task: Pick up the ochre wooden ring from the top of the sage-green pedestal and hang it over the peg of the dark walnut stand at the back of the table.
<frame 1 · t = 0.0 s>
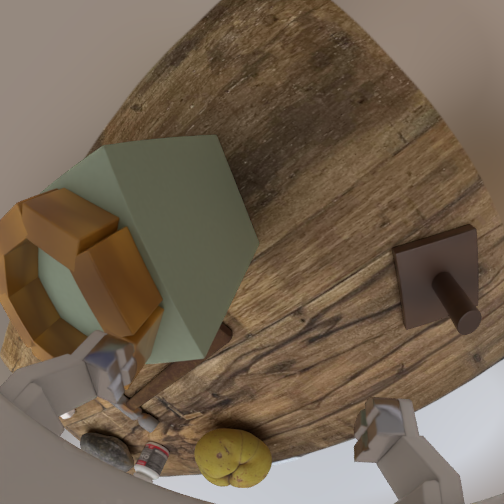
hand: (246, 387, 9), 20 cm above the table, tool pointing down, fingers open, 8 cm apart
fruit: (239, 432, 42), on the table
pedestal: (187, 208, 29), on the table
soap: (60, 398, 53), on the table
hammer: (162, 373, 39), on the table
pill bottle: (158, 447, 51), on the table
ring: (79, 286, 14), point 16 cm above the table, touching pedestal
stand: (437, 275, 26), on the table
stone: (113, 441, 56), on the table
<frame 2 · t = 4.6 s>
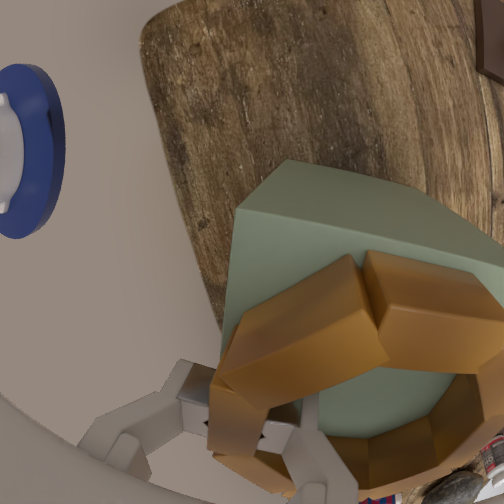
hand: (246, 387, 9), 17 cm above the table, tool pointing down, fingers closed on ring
pedestal: (340, 237, 24), on the table
soap: (379, 497, 42), on the table
pill bottle: (491, 441, 31), on the table
ring: (368, 387, 9), point 16 cm above the table, touching gripper, pedestal
cup: (377, 475, 38), on the table
stone: (450, 480, 38), on the table
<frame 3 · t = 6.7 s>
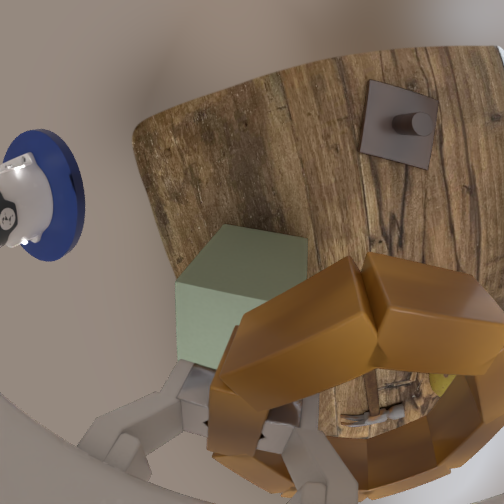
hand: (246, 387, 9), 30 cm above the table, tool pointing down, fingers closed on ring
fruit: (451, 349, 40), on the table
pedestal: (260, 268, 41), on the table
hammer: (365, 368, 45), on the table
ring: (367, 387, 9), point 29 cm above the table, touching gripper
stand: (397, 124, 30), on the table
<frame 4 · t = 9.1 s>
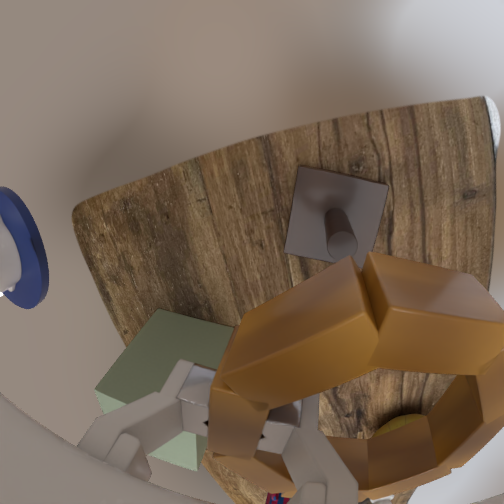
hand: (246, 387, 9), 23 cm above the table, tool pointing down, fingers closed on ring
fruit: (399, 419, 40), on the table
pedestal: (195, 348, 40), on the table
pill bottle: (381, 473, 48), on the table
ring: (368, 387, 9), point 22 cm above the table, touching gripper
cup: (282, 482, 54), on the table
stand: (334, 216, 30), on the table
stone: (357, 495, 54), on the table
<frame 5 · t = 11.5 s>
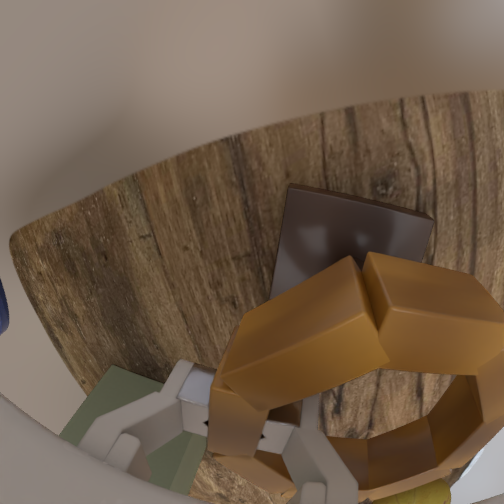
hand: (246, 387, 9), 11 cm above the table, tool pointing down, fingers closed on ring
fruit: (407, 477, 29), on the table
pedestal: (161, 410, 29), on the table
ring: (368, 388, 9), point 10 cm above the table, touching gripper
stand: (345, 264, 19), on the table
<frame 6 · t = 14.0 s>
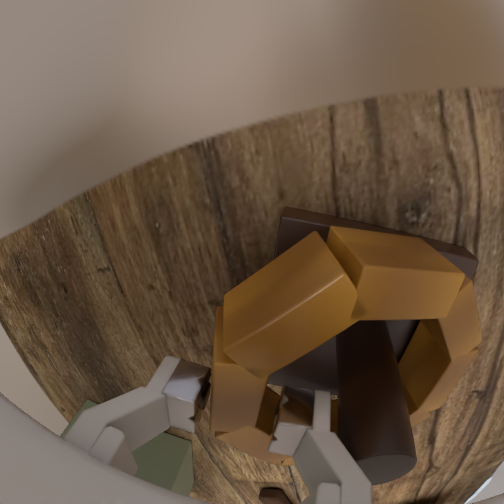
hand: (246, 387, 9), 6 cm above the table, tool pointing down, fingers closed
pedestal: (143, 446, 24), on the table
ring: (340, 348, 11), point 3 cm above the table, tilted 15°, touching stand
stand: (358, 313, 14), on the table
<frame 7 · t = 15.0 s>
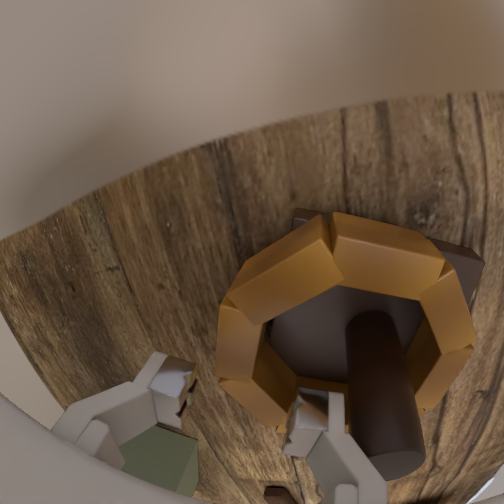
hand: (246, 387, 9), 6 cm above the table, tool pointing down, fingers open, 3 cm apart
pedestal: (148, 445, 25), on the table
ring: (344, 328, 13), point 1 cm above the table, touching stand
stand: (366, 313, 14), on the table
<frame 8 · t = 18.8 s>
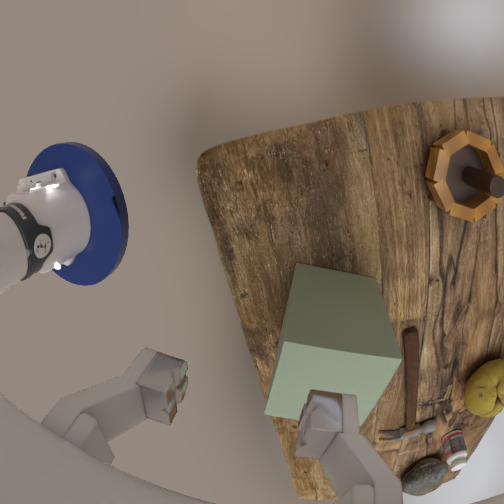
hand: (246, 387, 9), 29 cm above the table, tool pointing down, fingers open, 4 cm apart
fruit: (482, 369, 40), on the table
pedestal: (326, 305, 40), on the table
hammer: (407, 389, 44), on the table
pill bottle: (451, 434, 48), on the table
ring: (461, 173, 28), point 1 cm above the table, touching stand
stand: (463, 173, 30), on the table
stone: (422, 465, 54), on the table
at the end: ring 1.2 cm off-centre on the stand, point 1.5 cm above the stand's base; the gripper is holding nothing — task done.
